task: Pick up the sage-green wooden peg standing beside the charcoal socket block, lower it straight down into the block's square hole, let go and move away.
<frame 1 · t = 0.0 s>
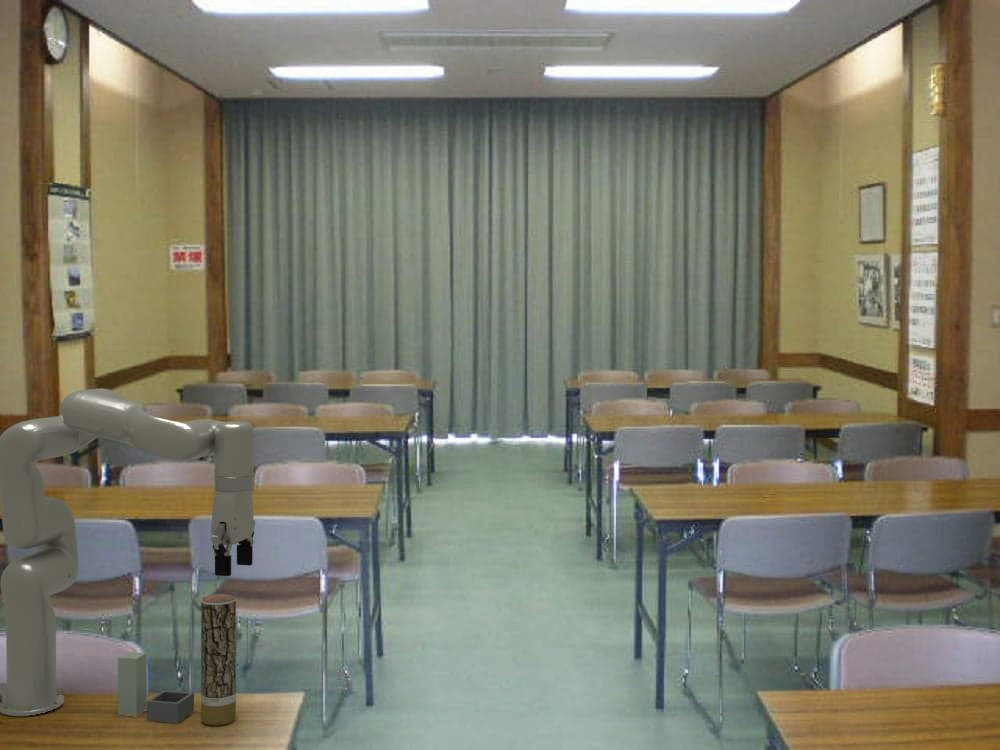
hand: (234, 570, 219), 31 cm above the table, tool pointing down, fingers open, 9 cm apart
brown cylindrical piece: (218, 721, 223), on the table
socket block: (170, 716, 225), on the table
peg: (132, 713, 227), on the table
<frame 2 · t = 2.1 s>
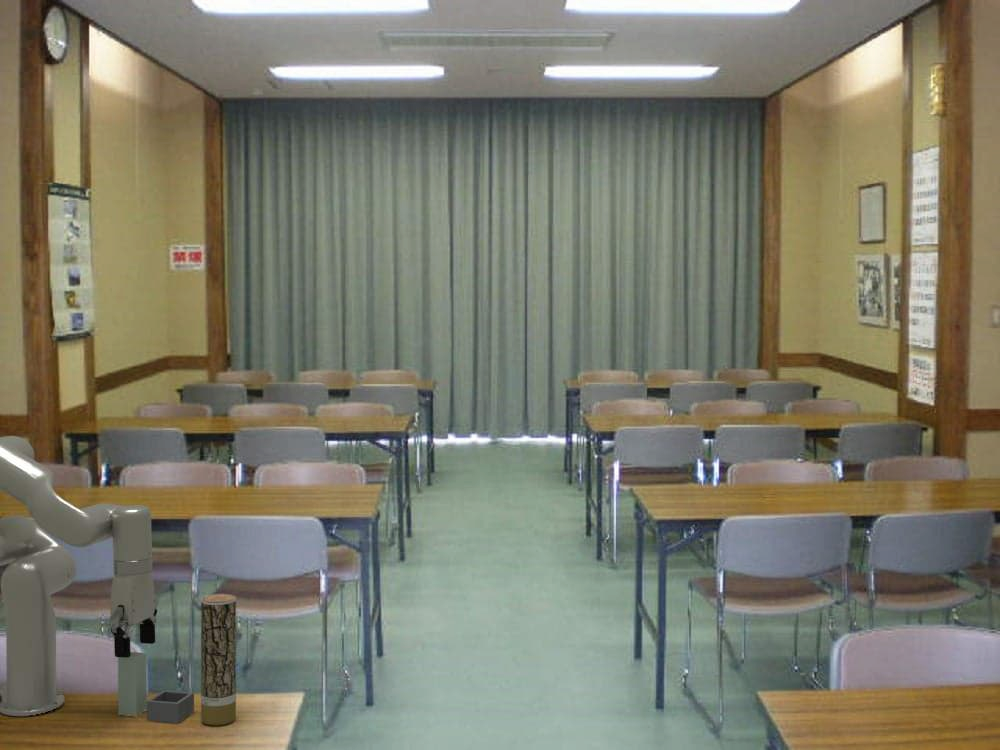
hand: (135, 649, 226), 13 cm above the table, tool pointing down, fingers open, 9 cm apart
nothing on the table moved.
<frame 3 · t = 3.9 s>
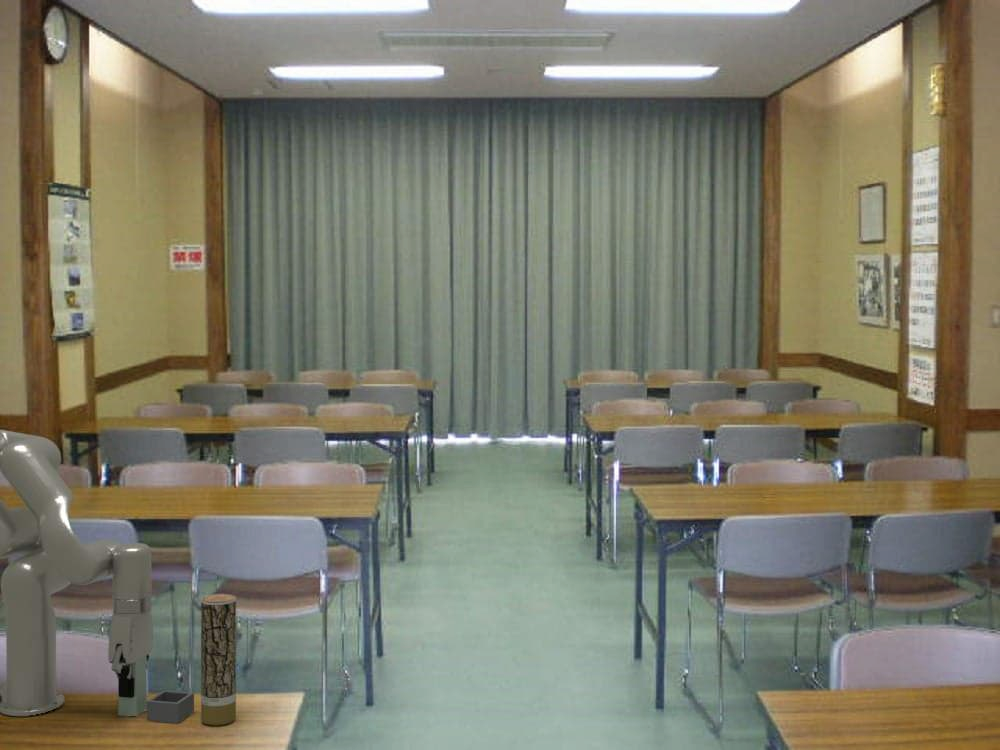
hand: (132, 692, 227), 4 cm above the table, tool pointing down, fingers closed on peg, 4 cm apart
peg: (132, 713, 227), on the table, touching gripper
everything else where it was.
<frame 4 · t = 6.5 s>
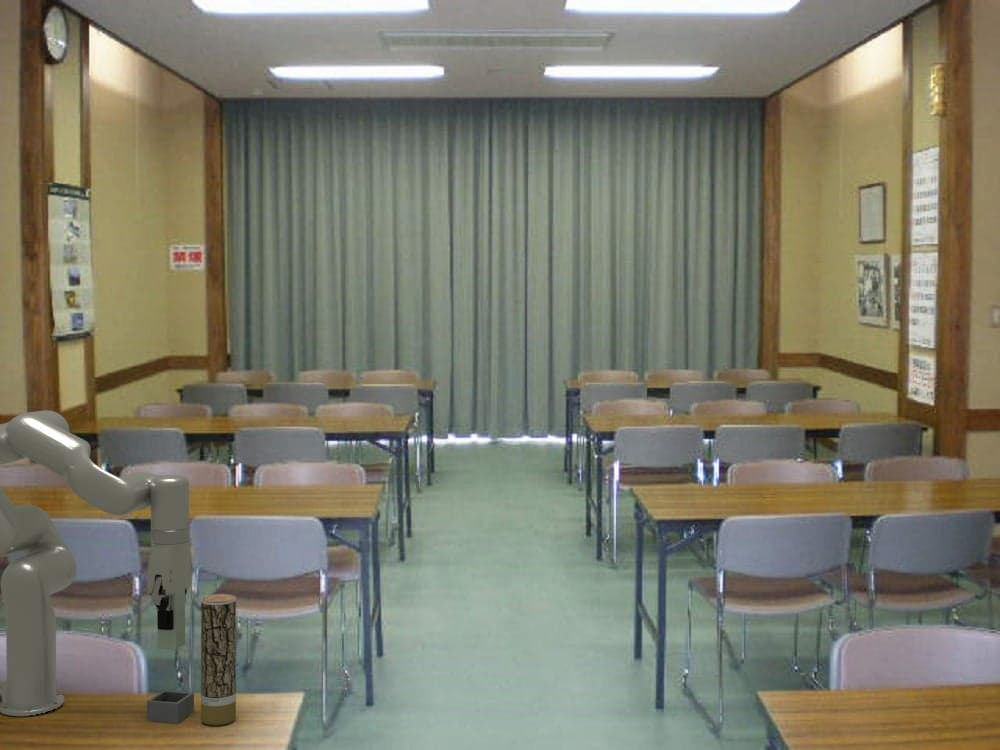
hand: (171, 625, 224), 19 cm above the table, tool pointing down, fingers closed on peg, 4 cm apart
peg: (171, 646, 224), point 14 cm above the table, touching gripper
everything else where it was.
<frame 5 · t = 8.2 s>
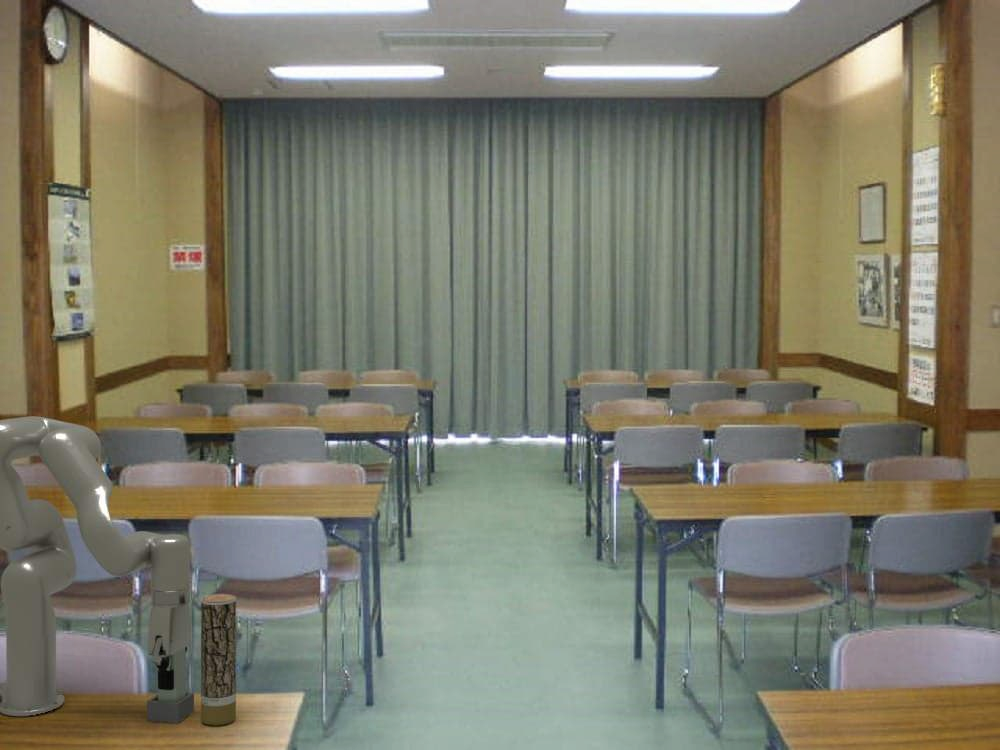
hand: (171, 684, 225), 7 cm above the table, tool pointing down, fingers closed on peg, 4 cm apart
peg: (172, 705, 225), point 2 cm above the table, touching gripper
everything else where it was.
when the fingers open (6 cm above the table, at t = 9.3 s): peg drops 1 cm, resting in socket block.
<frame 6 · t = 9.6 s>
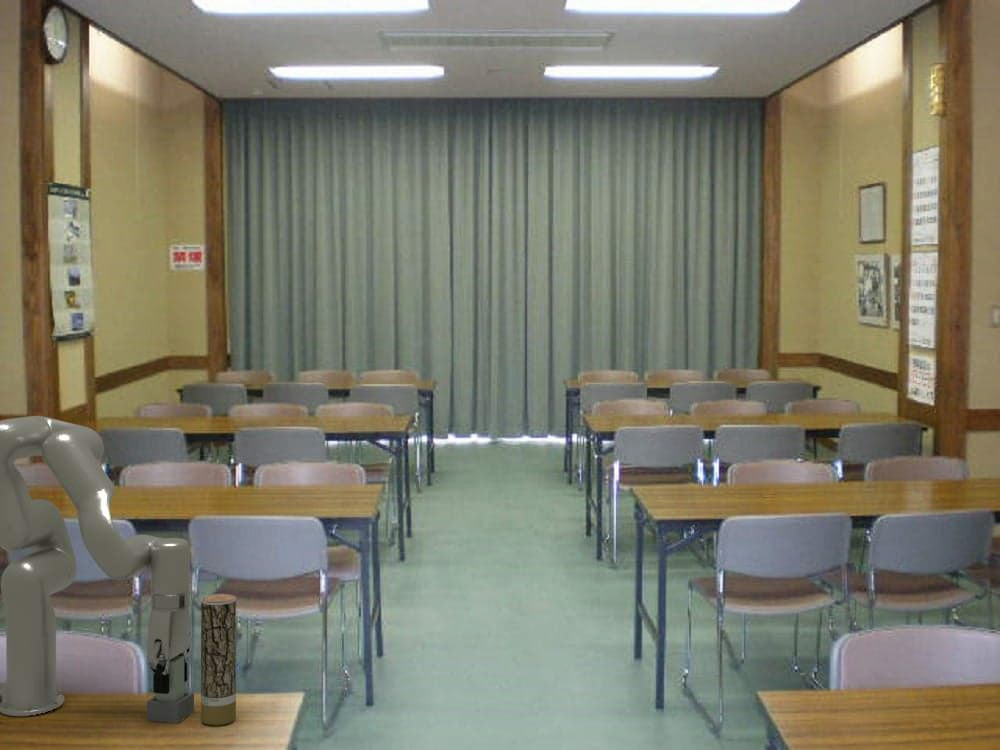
hand: (170, 686, 225), 6 cm above the table, tool pointing down, fingers open, 6 cm apart
peg: (170, 716, 225), resting in socket block
everything else where it was.
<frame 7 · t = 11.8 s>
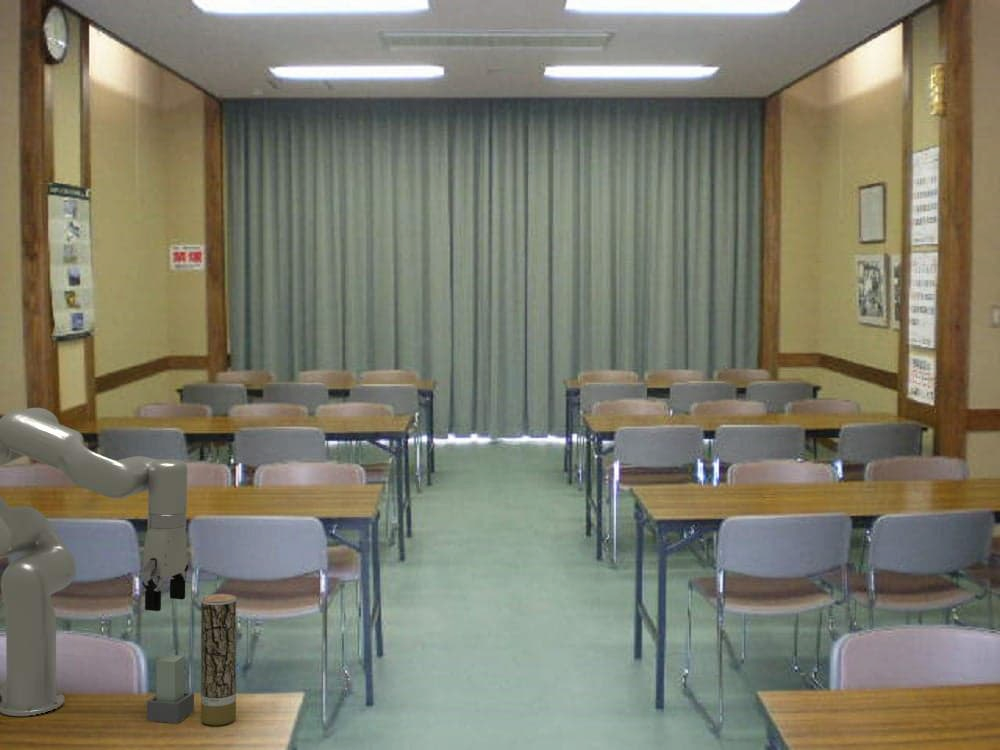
hand: (165, 604, 225), 23 cm above the table, tool pointing down, fingers open, 9 cm apart
nothing on the table moved.
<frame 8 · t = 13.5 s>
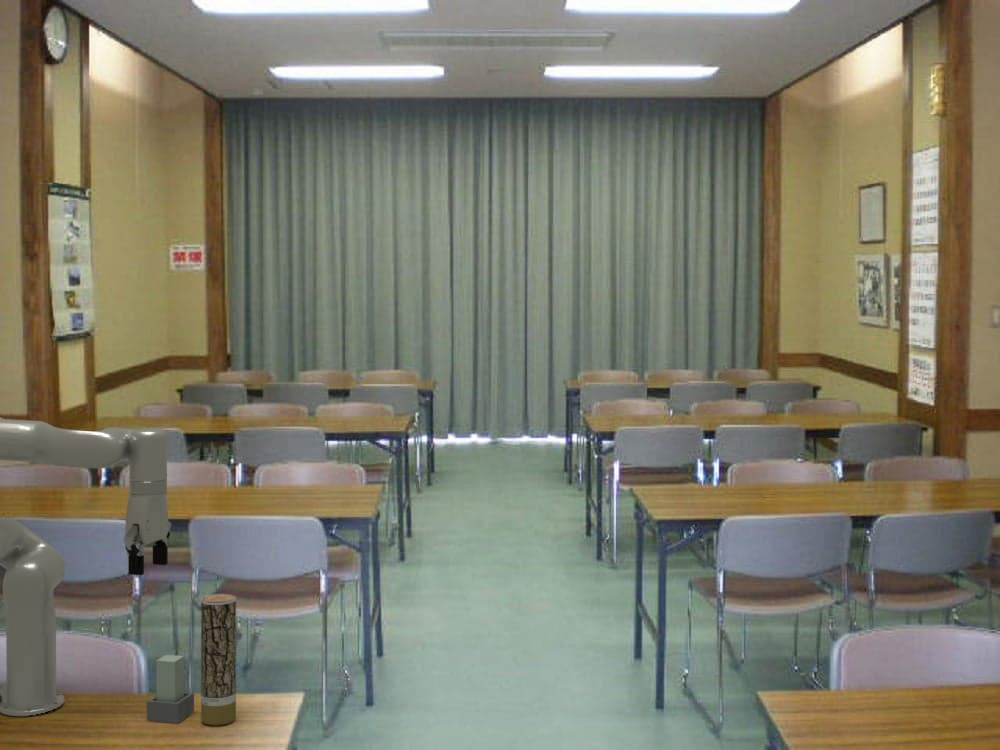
hand: (148, 569, 232), 28 cm above the table, tool pointing down, fingers open, 9 cm apart
nothing on the table moved.
at the end: peg 0.1 cm off-centre on the socket block, point 0.0 cm above the socket block's base; peg tilted 0°; the gripper is holding nothing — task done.
